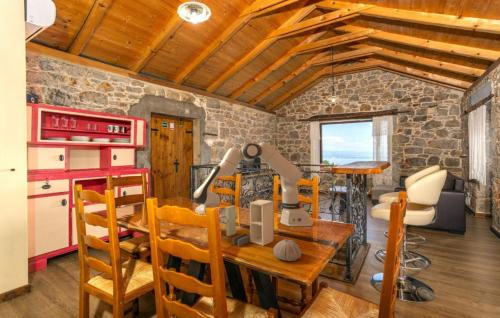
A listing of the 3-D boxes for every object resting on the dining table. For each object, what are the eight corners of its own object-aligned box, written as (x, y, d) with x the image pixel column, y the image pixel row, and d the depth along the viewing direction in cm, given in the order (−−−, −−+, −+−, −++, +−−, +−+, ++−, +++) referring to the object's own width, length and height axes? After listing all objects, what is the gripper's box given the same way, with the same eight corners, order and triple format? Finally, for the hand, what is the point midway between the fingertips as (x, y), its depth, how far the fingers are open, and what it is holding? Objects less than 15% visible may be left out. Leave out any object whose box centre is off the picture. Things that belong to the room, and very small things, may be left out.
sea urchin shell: (284, 249, 129) (284, 233, 129) (307, 256, 120) (307, 240, 119) (267, 257, 119) (267, 240, 119) (291, 266, 110) (291, 248, 110)
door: (225, 235, 143) (224, 207, 143) (233, 232, 148) (232, 205, 148) (228, 236, 141) (228, 207, 141) (236, 233, 146) (236, 205, 146)
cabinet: (232, 244, 136) (232, 203, 135) (255, 235, 150) (254, 198, 149) (252, 250, 127) (251, 207, 126) (274, 240, 141) (273, 201, 141)
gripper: (201, 214, 144) (218, 217, 135) (227, 207, 160) (243, 210, 151) (201, 224, 145) (218, 229, 136) (227, 217, 160) (243, 220, 151)
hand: (231, 219), depth 143 cm, fingers closed on door, 6 cm apart
